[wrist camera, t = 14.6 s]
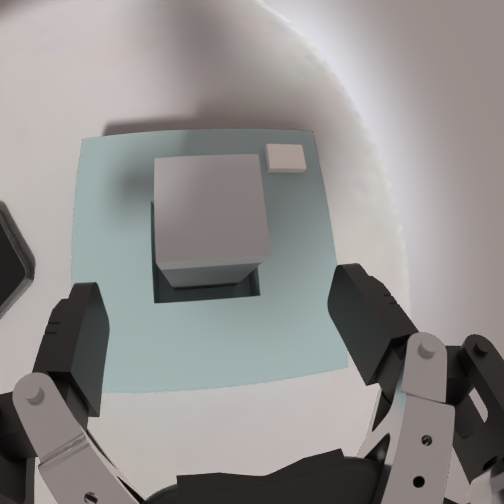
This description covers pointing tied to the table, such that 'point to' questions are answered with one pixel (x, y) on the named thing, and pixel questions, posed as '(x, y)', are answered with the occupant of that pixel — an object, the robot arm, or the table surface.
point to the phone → (12, 267)
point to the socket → (209, 299)
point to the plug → (209, 219)
